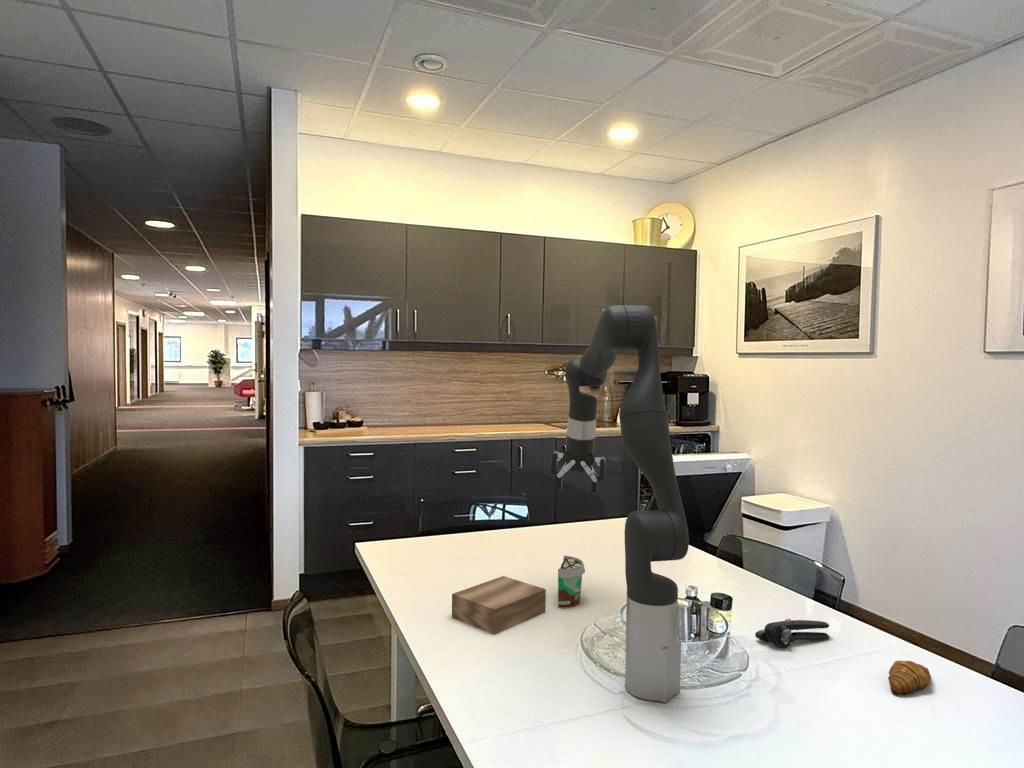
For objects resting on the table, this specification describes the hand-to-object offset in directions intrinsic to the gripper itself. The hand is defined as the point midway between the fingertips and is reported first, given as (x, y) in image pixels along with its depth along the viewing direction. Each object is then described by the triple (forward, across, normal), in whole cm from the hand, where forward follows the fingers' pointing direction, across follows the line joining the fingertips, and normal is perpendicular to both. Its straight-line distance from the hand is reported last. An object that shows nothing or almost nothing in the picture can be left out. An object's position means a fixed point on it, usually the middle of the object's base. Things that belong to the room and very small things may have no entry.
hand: (576, 491), depth 167 cm
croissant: (+14, +69, -40) cm, 81 cm away
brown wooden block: (+23, -14, -26) cm, 38 cm away
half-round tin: (+24, +2, -14) cm, 28 cm away
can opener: (+18, +53, -25) cm, 61 cm away
